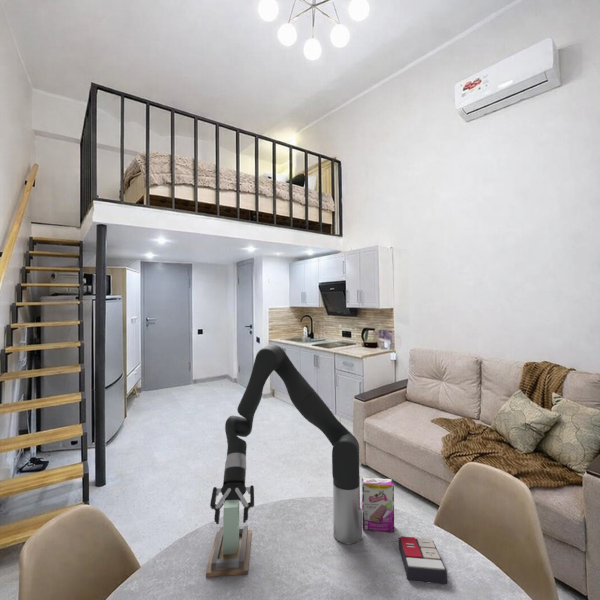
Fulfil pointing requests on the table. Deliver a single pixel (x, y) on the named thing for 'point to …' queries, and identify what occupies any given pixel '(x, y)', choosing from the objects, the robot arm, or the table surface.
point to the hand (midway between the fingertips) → (231, 522)
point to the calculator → (422, 560)
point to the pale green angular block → (231, 527)
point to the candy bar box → (377, 504)
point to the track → (230, 555)
